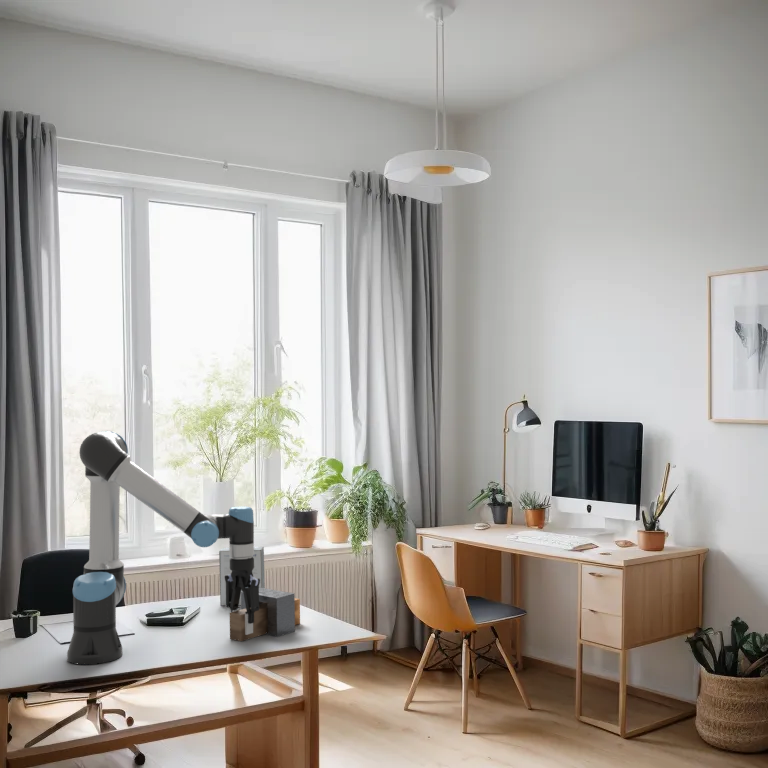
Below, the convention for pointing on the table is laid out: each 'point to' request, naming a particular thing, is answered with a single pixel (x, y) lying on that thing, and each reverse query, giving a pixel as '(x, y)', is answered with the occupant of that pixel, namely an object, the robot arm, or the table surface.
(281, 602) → the socket housing
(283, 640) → the table surface
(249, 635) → the bar
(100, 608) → the robot arm
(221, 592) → the hard drive box
